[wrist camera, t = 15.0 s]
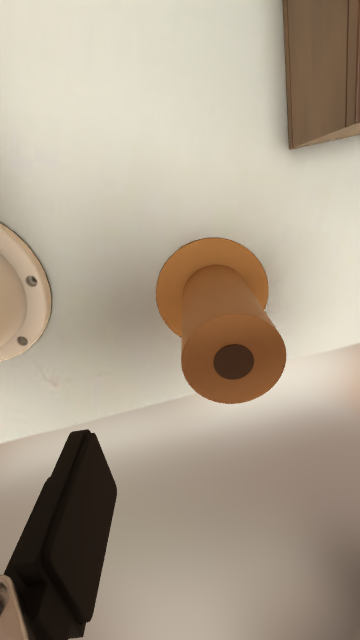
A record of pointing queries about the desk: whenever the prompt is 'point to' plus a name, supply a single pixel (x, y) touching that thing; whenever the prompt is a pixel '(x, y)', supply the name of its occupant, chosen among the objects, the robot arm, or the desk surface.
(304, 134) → the cabinet
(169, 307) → the coaster
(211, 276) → the paper roll
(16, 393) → the desk surface
